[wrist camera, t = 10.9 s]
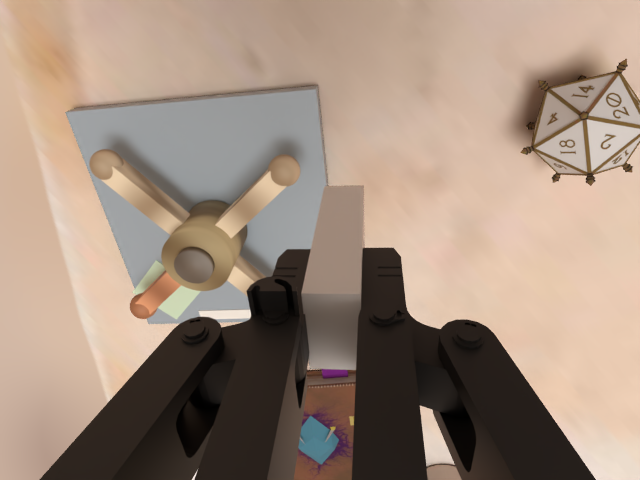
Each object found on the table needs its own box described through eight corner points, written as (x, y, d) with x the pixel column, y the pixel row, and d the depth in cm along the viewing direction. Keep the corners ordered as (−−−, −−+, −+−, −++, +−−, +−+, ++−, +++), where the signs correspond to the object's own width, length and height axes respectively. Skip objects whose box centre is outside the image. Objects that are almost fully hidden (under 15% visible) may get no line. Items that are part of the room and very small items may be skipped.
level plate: (71, 108, 39) (53, 115, 37) (317, 85, 36) (314, 92, 34) (151, 315, 51) (141, 330, 49) (341, 310, 48) (339, 326, 46)
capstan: (190, 39, 33) (153, 50, 28) (390, 236, 41) (395, 278, 35) (52, 221, 43) (4, 258, 37) (234, 354, 50) (217, 402, 45)
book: (363, 332, 51) (365, 364, 47) (377, 460, 63) (380, 495, 59) (228, 343, 53) (218, 374, 48) (267, 465, 65) (263, 500, 61)
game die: (527, 96, 39) (506, 64, 30) (646, 68, 34) (661, 21, 26) (536, 196, 39) (518, 192, 30) (656, 182, 34) (674, 173, 26)
